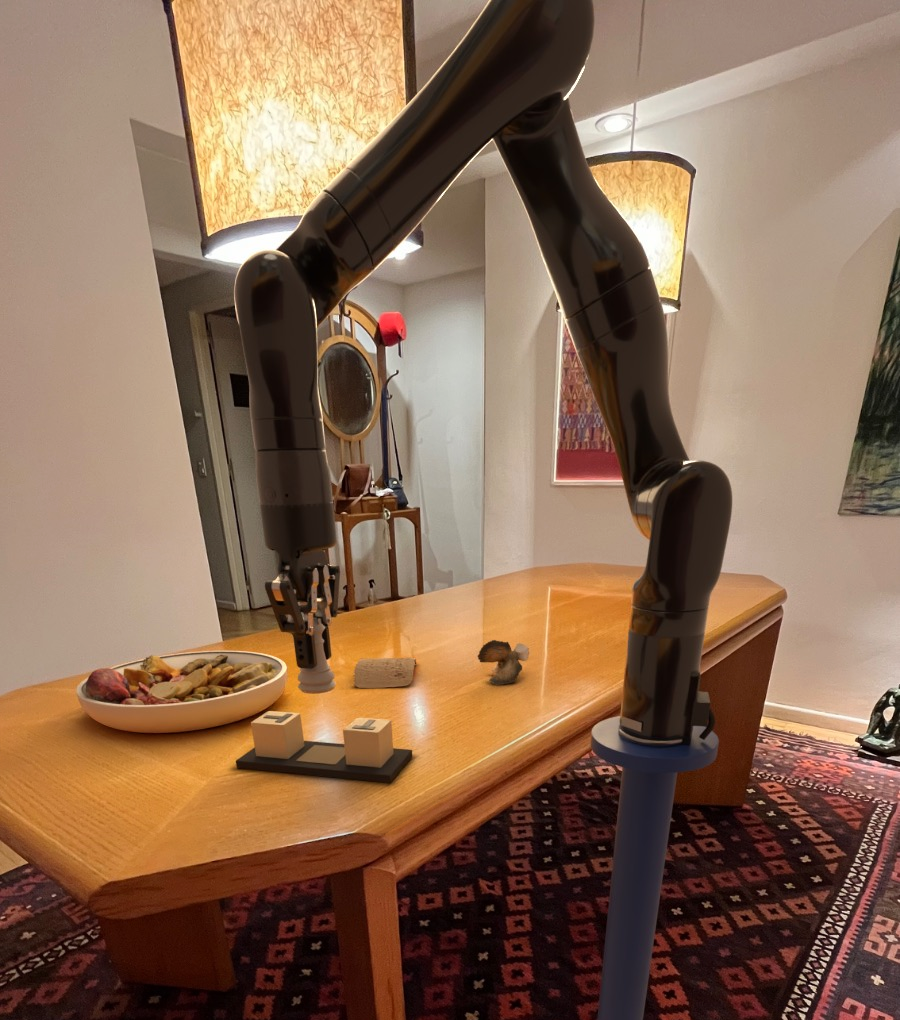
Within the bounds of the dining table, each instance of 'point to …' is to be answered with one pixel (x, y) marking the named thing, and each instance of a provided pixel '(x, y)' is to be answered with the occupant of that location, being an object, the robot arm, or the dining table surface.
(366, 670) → the clay tablet
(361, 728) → the tile
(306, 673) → the rook chess piece
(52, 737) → the dining table surface
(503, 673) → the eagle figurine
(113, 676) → the bowl
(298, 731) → the tile
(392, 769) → the word mat
